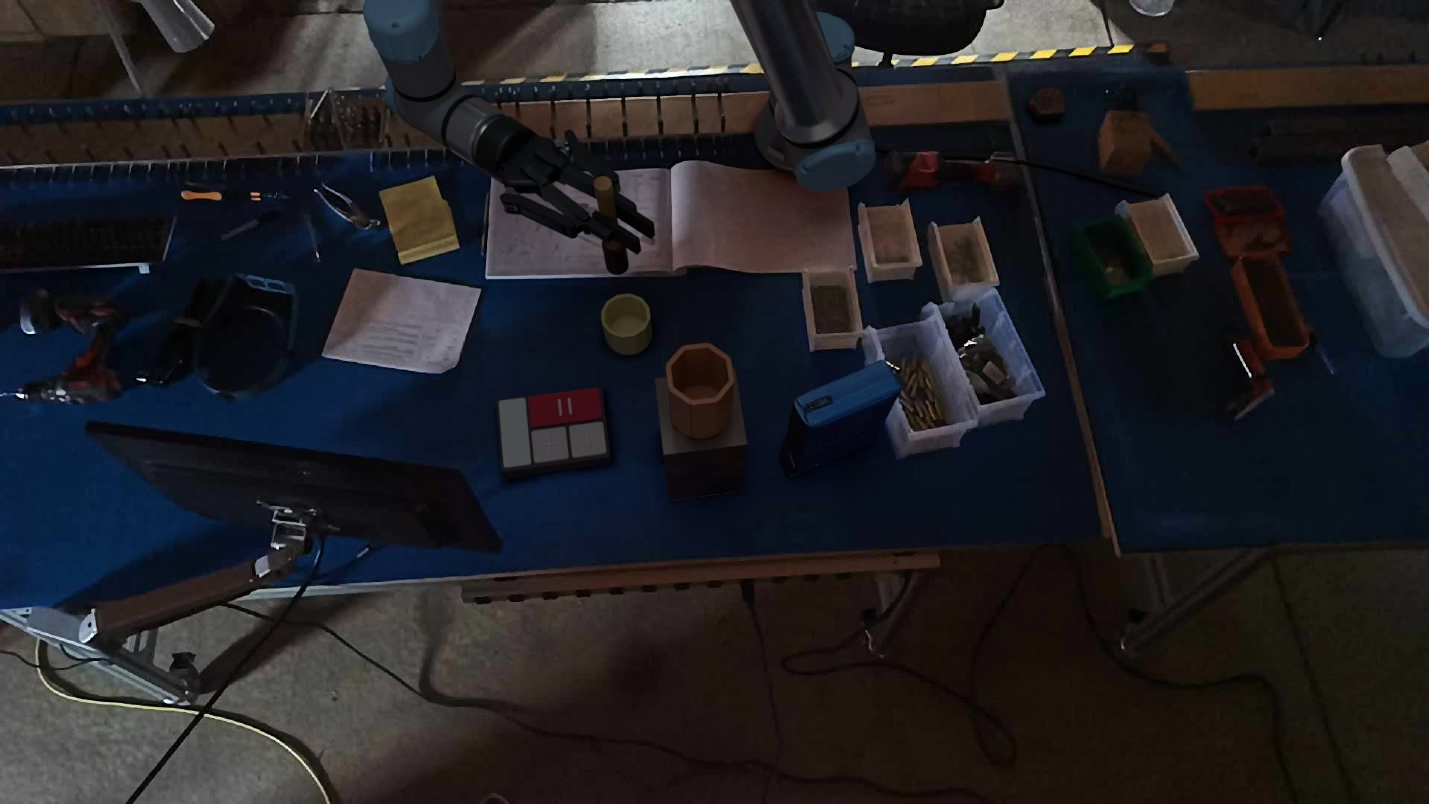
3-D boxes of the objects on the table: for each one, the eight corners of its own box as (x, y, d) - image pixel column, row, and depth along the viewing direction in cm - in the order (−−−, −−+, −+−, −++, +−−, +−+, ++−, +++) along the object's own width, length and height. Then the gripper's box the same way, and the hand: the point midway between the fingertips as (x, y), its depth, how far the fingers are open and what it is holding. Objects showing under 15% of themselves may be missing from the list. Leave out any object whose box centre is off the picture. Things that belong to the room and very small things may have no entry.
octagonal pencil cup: (725, 379, 103) (728, 339, 93) (734, 434, 100) (737, 399, 90) (666, 387, 102) (663, 347, 93) (673, 442, 100) (670, 407, 90)
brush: (627, 254, 111) (614, 170, 95) (630, 273, 109) (617, 192, 94) (605, 257, 110) (588, 173, 95) (607, 276, 109) (590, 195, 94)
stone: (1027, 126, 144) (1034, 113, 141) (1019, 93, 147) (1026, 80, 144) (1065, 125, 144) (1073, 112, 141) (1056, 93, 147) (1064, 79, 144)
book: (789, 485, 119) (805, 434, 100) (772, 452, 120) (784, 396, 102) (878, 444, 121) (909, 387, 103) (860, 413, 123) (887, 352, 105)
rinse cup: (649, 311, 129) (647, 291, 124) (654, 352, 126) (652, 333, 121) (603, 316, 129) (599, 296, 123) (607, 357, 126) (603, 339, 120)
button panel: (610, 455, 116) (499, 470, 114) (612, 465, 120) (505, 480, 118) (601, 383, 120) (494, 396, 118) (603, 395, 124) (499, 408, 122)
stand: (730, 427, 122) (735, 368, 103) (740, 493, 118) (747, 444, 100) (661, 436, 121) (654, 378, 103) (669, 503, 117) (663, 455, 99)
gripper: (540, 124, 110) (685, 214, 104) (460, 201, 105) (608, 300, 100) (528, 82, 103) (683, 175, 97) (443, 162, 98) (601, 265, 93)
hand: (645, 238), depth 98 cm, fingers closed on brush, 2 cm apart
